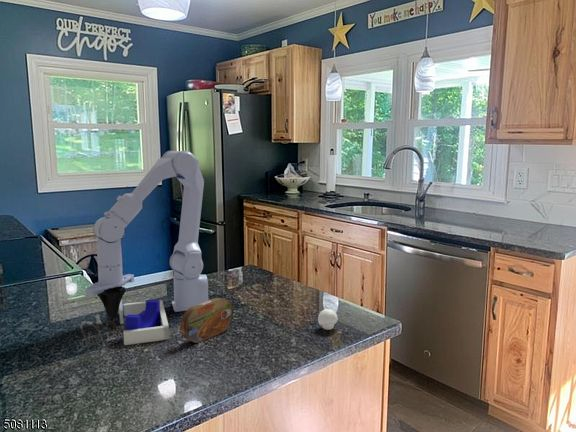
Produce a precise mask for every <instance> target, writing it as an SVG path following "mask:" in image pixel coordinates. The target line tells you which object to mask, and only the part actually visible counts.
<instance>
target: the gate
mask: <svg viewBox="0 0 576 432" xmlns="http://www.w3.org/2000/svg"><path fill="white" fill-rule="evenodd" d="M118 314H119V323H120V325H122V324H123V325H124V306H123V298H122V299H121V302H120V305H119V310H118Z"/></svg>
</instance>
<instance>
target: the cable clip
mask: <svg viewBox="0 0 576 432" xmlns="http://www.w3.org/2000/svg"><path fill="white" fill-rule="evenodd" d="M159 300H160V299H147V300H145V301H146V309H145V311H142V312H141V313H140V314H137V315H127V316H124V317H125V331H126V330H134V329H142V328H150V327H157V325H159V323H160V301H159ZM160 324H161V323H160Z"/></svg>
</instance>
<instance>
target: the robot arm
mask: <svg viewBox="0 0 576 432" xmlns="http://www.w3.org/2000/svg"><path fill="white" fill-rule="evenodd" d="M199 163H200V161H199V160H198V158H197V157H196V156H195V155H194V154H193V153H192V152H191V151H189V150H180V151H179V150H168V151H166V152H165V153H163V155H162V157H160V158H158V159H157V160H156V162H155V163H154V165H153V166H152V167H151V168H150V170H149V171H148V172H147V174H146V175H144V177H143V178H142V179H141V181H140V182H139V183H138V184H137V186H136V187H135V188H134V189H133V190H132V192H130V193H124V194H123V195H122V196H121V195H118V196H117V198H116V202H115V204H114V205H113V206H112V207H110V209H109V210H108V211H105V212H103V215H104V217H103V216H102V217H100V218H99V219H97V220H96V221H95V223H94V227H92V232H93V234H94V235H95V237H96V245H97V246H96V255H97V257H96V258H97V277H98V281H97V282H95V283H93V284H92V285H90V286H88V287H87V288H84V292H85V293H84V296H85V297H87V298H94V297H95V296H98V298H99V299H100V301H101V303H102V304H103V307H104V309H105V312H106V316H107V317H108V318H109V317H111V318H115V317H117V316H118V314H119V305H120V302H121V299H122V300H123V297H124V295H125V293H126V292H127V291H126V290H127V289H126V287H124V286H125V285H126V284H128V283H129V284H130V283H134V282H135V275H134V274H131V273H127V274H124V275H123V253H122V239H121V238H122V237H124V235H125V228H127V226H129V224H130V223H131V222H132V221H133V219H135V218H136V216H137V215H138V214H139V213H140V212H141V210H143V201H144V200H145V199H146V198H147V197H148V196H149V195H150V194H151V193H152V192H153V190H154V189H156V188H157V187H158V186H159V185H160V183H161V182H162V181H163V180H166V179H170V178H176V179H177V180H178V181H179V182H180V183H181V185H183V193H182V202H181V203H182V205H181V213H180V220H179V221H180V222H179V231H178V232H179V233H178V241H177V242H176V243H175V245H174V247H173V253H172V254H171V256H170V258H169V266H170V268H171V269H172V270H173V297H174V298H173V301H171V305H172V307H173V308H172V309H173V311H174V312H175V313H177V312H186V311H187V310H188V309H189V308H191V307H193V306H195V305H198V304H201V303H203V302H206V301H209V282H208V277H207V274H202V271H203V270H204V262H203V259H202V253H203V252H202V250H201V248H200V245H199V235H200V234H199V233H200V232H199V231H200V225H201V215H202V208H203V207H202V203H203V196H204V195H203V194H204V187H205V186H204V185H205V179H204V178H203V174H202V172H201V169H200V166H199Z"/></svg>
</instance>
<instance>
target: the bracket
mask: <svg viewBox="0 0 576 432" xmlns="http://www.w3.org/2000/svg"><path fill="white" fill-rule="evenodd" d="M158 300H159V301H160V326H159V325H158V326H155V327H150V328H142V329H134V330H126V329H125V330H123V345H124V346H128V345H135V344H144V343H151V342H158V341H159V342H160V341H165V340H170V326H169V322H168V317H167V314H166V310H165V306H164V303H163V299H158ZM146 301H147V300H145V301H138V302H129V303H128V302H127V303H123V317H126V316H127V315H139V314H140V313H141V312H142V311H145V309H146Z"/></svg>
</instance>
